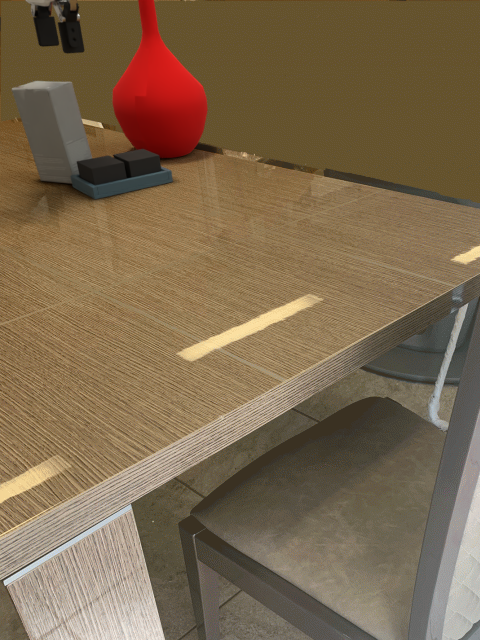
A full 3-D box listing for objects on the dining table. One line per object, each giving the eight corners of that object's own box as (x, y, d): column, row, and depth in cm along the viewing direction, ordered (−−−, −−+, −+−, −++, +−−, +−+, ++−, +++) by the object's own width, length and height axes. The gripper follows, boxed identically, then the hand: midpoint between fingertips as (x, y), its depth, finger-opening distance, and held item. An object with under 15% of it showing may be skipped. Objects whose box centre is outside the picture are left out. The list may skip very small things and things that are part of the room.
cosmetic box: (97, 176, 119) (78, 80, 110) (72, 187, 114) (49, 88, 105) (61, 171, 122) (38, 77, 112) (34, 181, 117) (9, 84, 107)
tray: (95, 199, 109) (92, 187, 107) (72, 187, 114) (70, 175, 113) (173, 181, 116) (171, 170, 115) (148, 171, 122) (146, 160, 121)
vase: (106, 151, 133) (71, -24, 115) (181, 137, 143) (161, -27, 125) (150, 170, 122) (120, -20, 104) (229, 153, 132) (214, -24, 114)
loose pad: (96, 192, 110) (91, 168, 107) (81, 184, 114) (76, 161, 111) (128, 185, 113) (124, 162, 111) (112, 178, 117) (108, 155, 114)
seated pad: (132, 184, 113) (128, 161, 111) (117, 177, 117) (112, 154, 115) (162, 178, 116) (159, 155, 114) (146, 171, 120) (143, 148, 118)
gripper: (-13, -90, 94) (17, 45, 104) (30, -93, 83) (60, 57, 94) (38, -88, 98) (62, 42, 108) (85, -90, 87) (108, 54, 98)
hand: (61, 49), depth 101 cm, fingers open, 9 cm apart
